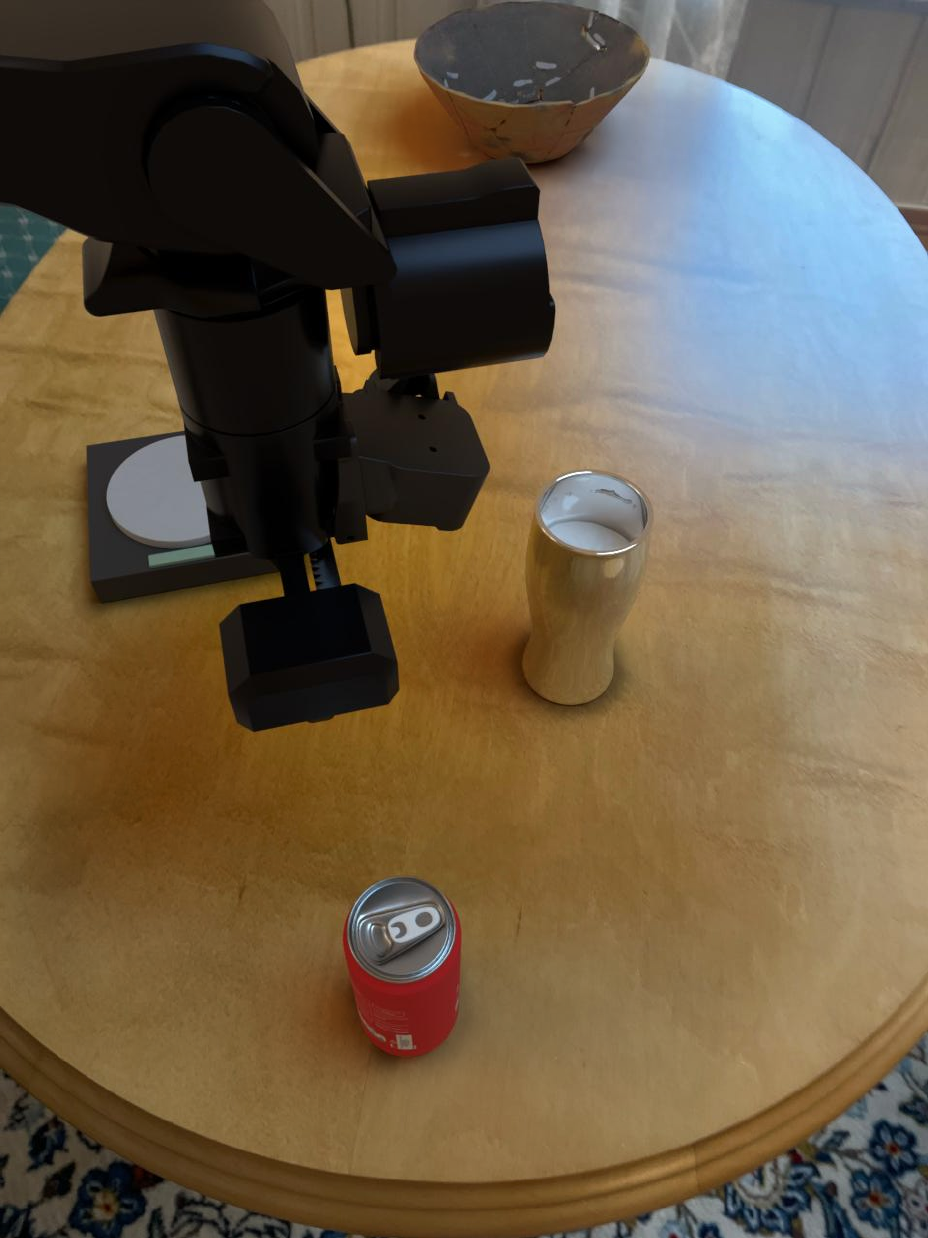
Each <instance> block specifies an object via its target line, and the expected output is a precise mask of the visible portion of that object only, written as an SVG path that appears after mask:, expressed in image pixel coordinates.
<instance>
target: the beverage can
mask: <svg viewBox="0 0 928 1238" xmlns="http://www.w3.org/2000/svg"><path fill="white" fill-rule="evenodd" d="M347 913H348V914H347V916H346V918H345V922H344V925H343V931H342V947H343V952H344V956H345V961H346V966H347V969H348V974H349V978H350V982H351V986H352V987H351V988H352V991H353V995H354V998H355V1003H356V1007H357V1012H358V1016H359V1020H360V1023H361V1026H362V1028H363V1031H364V1032H365V1034H366V1036H367V1038H368V1039H369V1040H370V1041H371V1042H372V1043H373V1044H374V1045H375V1046H376V1047H377V1048H379V1049H381V1050H382V1051H383V1052H385V1053H388V1054H390V1055H393V1056H397V1057H404V1058H411V1057H412V1058H413V1057H418V1056H422V1055H425V1054H428V1053H429V1052H432V1051H433V1050H435V1049H437V1048H438V1047H439V1046H440V1045H441V1044H443V1042H445V1041H446V1039H447V1038H448V1037H449V1035H450V1034H451V1032H452V1031H453V1029H454V1027H455V1025H456V1022H457V1019H458V1015H459V1009H460V987H461V961H462V960H461V959H462V926H461V925H462V924H461V920H460V917H459V915H458V912H457V910H456V907H455V905H454V904H453V903H452V901H451V900H450V899H449V898H448V896H447V895H446V894H445V893H444V892H443V891H442V890H441V889H439V888H438V887H437V886H436V885H435V884H433V883H431V882H429V880H425V879H423V878H422V877H418V876H417V875H394V876H390V877H385V878H383V879H381V880H379V881H376V882H375V883H372V885H370V886H369V887H367V888H366V889H365V890H364V891H363V892H362V893H360V895H359V896H358V897H357V899H356V900H355V902H354V903H353V904H352V906H351V908H350V909H349V912H347Z"/></svg>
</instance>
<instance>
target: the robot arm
mask: <svg viewBox="0 0 928 1238" xmlns="http://www.w3.org/2000/svg"><path fill="white" fill-rule="evenodd" d="M540 197H541V189H540V187H539V185H538V184H537V182H536V181H535V178H534V177H533V175H532V173H531V171H530V169H529V168H528V167H527V165H526V164H525V163H524V162H523V161H522V160H521V159H520V158H519V157H515V158H506V159H492V160H487V161H482V162H479V163H477V164H474V165H471V166H469V167H465V168H461V169H455V170H446V171H438V172H437V171H436V172H430V173H420V174H411V175H404V176H403V175H402V176H396V177H386V178H377V179H370V180H369V179H368V180H366V181H365V179H364V176H363V173H362V171H361V168H360V166H359V162H358V160H357V157H356V155H355V152H354V150H353V147H352V145H351V143H350V141H349V140H348V138H347V136H346V135H345V134H344V133H342V132H341V131H340V130H339V128H337V126H336V125H335V124H334V123H333V122H332V120H331V119H329V117H328V116H327V115H326V114H325V113H324V112H323V110H321V108H320V107H319V106H318V105H317V104H316V103H315V101H313V99H312V98H311V97H310V96H309V95H308V93H306V92H305V90H304V86H303V84H302V81H301V78H300V75H299V71H298V69H297V66H296V63H295V61H294V58H293V55H292V51H291V48H290V45H289V43H288V41H287V38H286V36H285V34H284V32H283V29H282V28H281V25H280V23H279V22H278V20H277V17H276V15H275V12H273V10H272V9H271V8H270V7H269V6H268V5H267V3H266V2H265V1H264V0H0V207H1V206H3V207H9V208H15V209H18V210H22V211H24V212H27V213H30V214H32V215H34V216H36V217H39V218H41V219H44V220H46V221H48V222H51V223H53V224H56V225H57V226H58V225H59V226H61V227H62V228H65V229H68V230H70V231H71V232H75V233H77V234H80V235H82V236H85V237H87V238H86V239H85V240H84V241H83V243H82V245H81V263H82V265H81V266H82V296H83V307H84V309H85V311H86V312H87V313H88V314H89V315H91V316H93V317H96V318H103V317H110V316H111V317H112V316H119V315H125V314H127V315H128V314H133V313H140V312H149V311H153V314H154V317H155V321H156V325H157V329H158V332H159V336H160V340H161V344H162V347H163V351H164V354H165V357H166V361H167V364H168V369H169V372H170V375H171V380H172V383H173V387H174V390H175V393H176V394H175V395H176V398H177V402H178V406H179V409H180V413H181V418H182V422H183V429H184V430H183V431H185V439H186V447H187V455H188V462H189V466H190V469H191V473H192V477H193V480H194V482H199V481H200V483H201V486H202V490H203V494H204V497H205V501H206V510H207V517H208V525H209V532H210V540H211V544H212V547H213V551H214V554H215V558H218V557H224V556H230V555H235V554H241V553H247V552H248V554H249V556H250V557H252V558H257V559H263V560H270V561H271V562H272V563H273V565H274V566H275V567H276V568H277V569H278V571H277V572H279V573H280V574H279V575H280V580H281V585H282V586H281V587H282V589H283V596H282V595H281V596H276V597H272V598H265V599H262V600H261V599H260V600H255V601H250V602H244V603H239V604H238V605H237V606H236V607H234V608H233V610H232V611H231V612H230V613H228V614H227V616H226V617H224V618H223V619H222V620H221V621H220V622H219V623H218V629H219V635H220V643H221V651H222V658H223V666H224V675H225V682H226V690H227V697H228V700H229V703H230V706H231V708H232V712H233V715H234V718H235V721H236V724H238V725H240V726H241V727H244V728H245V729H247V730H249V731H251V732H252V733H259V732H262V731H267V730H272V729H277V728H281V727H287V726H290V725H296V724H301V723H305V722H306V723H308V724H316V723H321V722H326V721H331V720H332V719H334V717H335V716H341V715H344V714H348V713H349V714H350V713H355V712H358V711H364V710H370V709H373V708H378V707H383V706H388V705H389V704H390V703H391V702H392V701H393V699H394V698H395V697H396V696H397V694H398V692H400V689H401V688H400V687H401V686H400V674H399V673H400V672H399V661H398V658H397V654H396V650H395V646H394V642H393V638H392V635H391V632H390V627H389V623H388V619H387V616H386V612H385V609H384V604H383V601H382V597H381V594H380V593H379V592H376V591H374V590H372V589H370V588H367V587H365V586H362V585H361V584H358V583H356V582H353V583H347V584H342V581H341V577H340V572H339V568H338V563H337V559H336V556H335V551H334V548H333V543H332V539H331V538H334V540H335V543H336V544H337V545H340V546H341V545H348V544H353V543H358V542H365V541H368V540H369V533H368V523H367V522H368V521H367V517H368V518H370V519H372V520H374V521H376V522H379V523H386V524H396V525H397V524H398V525H409V526H421V527H432V528H433V527H434V528H436V529H437V530H438V531H439V532H454V531H458V530H460V529H462V528H463V526H464V525H465V523H466V521H467V518H468V516H469V515H470V512H471V510H472V508H473V507H474V505H475V502H476V500H477V498H478V496H479V494H480V492H481V490H482V488H483V486H484V484H485V481H486V479H487V477H488V475H489V473H490V471H491V464H490V461H489V458H488V456H487V453H486V451H485V448H484V445H483V442H482V441H481V438H480V435H479V433H478V430H477V428H476V425H475V423H474V420H473V418H472V416H471V414H470V413H469V412H468V411H467V409H465V408H464V407H463V406H462V405H460V404H459V402H458V400H457V397H456V395H455V393H454V391H448V390H445V391H444V394H443V396H442V398H440V391H439V386H438V379H437V376H436V374H442V373H448V372H449V373H450V372H455V371H461V370H468V369H477V368H482V367H489V366H495V365H501V364H502V365H503V364H509V363H514V362H521V361H529V360H535V359H541V358H544V357H545V356H546V354H547V353H548V351H549V349H550V346H551V344H552V342H553V336H554V330H555V323H556V311H557V310H556V303H555V300H554V298H553V296H552V294H551V289H550V276H549V275H550V274H549V266H548V265H549V263H548V258H547V252H546V245H545V241H544V240H545V239H544V236H543V232H542V228H541V224H540V220H539V213H540V210H539V209H540V199H541V198H540ZM327 291H339V292H340V298H341V304H342V311H343V316H344V321H345V327H346V330H347V334H348V339H349V343H350V346H351V349H352V352H353V354H354V356H355V357H359V356H364V355H371V354H372V352H373V351H374V362H375V367H376V368H375V369H374V370H373V371H372V372H371V373H370V375H369V377H368V379H365V381H364V384H363V385H362V388H359V389H355V390H353V392H343V389H342V382H341V378H340V374H339V371H338V367H337V364H335V363H334V354H333V353H334V351H333V345H332V336H331V335H332V333H331V326H330V318H329V317H330V316H329V308H328V299H327V298H328V297H327ZM307 554H308V557H309V563H310V568H311V572H312V578H313V579H314V580H313V581H314V586H315V590H311V587H310V582H309V577H308V573H307V567H306V563H305V556H306V555H307Z"/></svg>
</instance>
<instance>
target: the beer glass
mask: <svg viewBox="0 0 928 1238" xmlns="http://www.w3.org/2000/svg"><path fill="white" fill-rule="evenodd" d="M533 507H534V510H533V514H532V518H531V523H530V527H529V531H528V537H527V544H526V550H525V562H524V563H525V564H524V565H525V566H524V578H525V591H526V597H527V605H528V610H529V615H530V621H531V622H530V623H531V632H530V637H529V639H528V642H527V644H526V646H525V648H524V651H523V654H522V658H521V659H522V660H521V668H522V674H523V676H524V679H525V681H526V682H527V684H528V686H529V687H530V688H531V689H532V691H534V692H535V693H536V694H537V695H538V696H540V697H541V698H543V699H544V700H547V701H549V702H552V703H555V704H559V705H566V706H577V705H583V704H586V703H589V702H592V701H594V700H596V699H598V698H599V697H600V696H601V695H602V694H603V693H605V691H606V690H607V689H608V687H609V686H610V684H611V683H612V679H613V676H614V670H615V669H614V666H615V665H614V652H613V651H614V644H615V641H616V639H617V637H618V635H619V633H620V631H621V630H622V628H623V626H624V624H625V622H626V621H627V620H628V617H629V615H630V614H631V612H632V611H633V610H632V609H633V608H634V606H635V603H636V601H637V599H638V596H639V594H640V591H641V589H642V586H643V582H644V578H645V576H646V571H647V566H648V561H649V557H650V556H649V555H650V547H651V540H652V532H653V531H652V530H653V526H654V523H655V512H654V511H655V510H654V507H653V504H652V502H651V500H650V498H649V497H648V495H647V494H646V492H645V491H644V490H643V488H641V487H640V486H639V485H638V484H636V483H635V482H633V481H632V480H630V479H629V478H627V477H625V476H622V475H621V474H617V473H615V472H612V471H607V470H603V469H596V468H595V469H594V468H583V469H575V470H570V471H567V472H564V473H561V474H558V475H556V476H555V477H553V478H552V479H550V480H549V481H547V482H546V483H545V484H544V485H543V486H542V487H541V489H540V490H539V492H538V493H537V495H536V498H535V501H534V506H533Z"/></svg>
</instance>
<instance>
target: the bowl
mask: <svg viewBox="0 0 928 1238" xmlns="http://www.w3.org/2000/svg"><path fill="white" fill-rule="evenodd" d="M599 11H600V10H596V9H593V8H588V7H584V6H579V5H574V4H570V3H564V2H553V1H543V0H532V1H504V2H503V1H502V2H495V3H491V4H490V3H489V4H483V5H479V6H478V5H477V6H473V7H469V8H464V9H460V10H455V11H453V12H451V13H450V14H447V15H446V16H445V17H443V18H441V19H439V20H437V21H435V22H434V23H432V24H430V25H429V26H428V27H426V28H425V29H424V30H423V31H421V33H419V35H418V37H417V39H416V41H415V43H414V49H413V60H414V62H415V65H416V66H417V69H418V71H419V74H420V76H421V77H422V79H423V80H424V82H425V83H426V85H427V86H428V88H429V90H431V92H432V93H433V95H434V96H435V97H436V99H437V100H438V102H439V103H440V104H441V107H443V109H444V110H445V111H446V113H447V114H448V116H449V117H450V119H451V120H452V121H453V122H454V123H455V125H456V126H458V128H459V129H460V130H461V131H462V132H463V133H464V134H465V135H466V137H468V139H470V140H471V142H472V144H474V145H475V146H476V147H477V148H478V149H479V150H480V151H482V152H483V153H484V154H486V155H487V156H488V157H491V158H493V159H494V160H498V159H506V158H515V157H519V158H520V159H521V160H522V161H523V162H524V163H525V165H526V164H541V163H545V162H549V161H553V160H557V159H559V158H562V157H563V156H565V155H566V154H568V153H569V152H571V151H573V149H575V148H576V147H577V146H579V145H580V144H581V143H582V142H584V141H585V140H586V139H587V138H588V137H589V135H590V134H592V132H593V131H594V130H595V128H596V127H597V126H599V125H600V124H601V123H602V122H603V120H604V119H605V118H606V117H607V116H608V115H609V114H610V113H611V112H612V111H613V109H614V108H616V107H617V105H618V104H619V103H620V102H621V101H622V100H623V99H624V98H625V97H626V96H627V95H628V93H629V92H630V91H631V90H632V89H633V87H634V86H635V85H636V84H637V83H638V82H639V81H640V80H641V78H642V77H643V75H644V74H645V72H646V69H647V68H648V65H649V63H650V57H651V53H650V47H649V46H648V45H647V43H646V41H645V40H644V39H643V37H642V36H641V35H640V34H639V33H638V31H636V30H635V29H633V28H632V27H630V25H628V24H627V23H624V22H621V21H620V20H618V19H616V18H614V17H612V16H610V15H608V14H606V13H604V12H599ZM587 34H588V35H589V37H590V38H591V39H592V40H593V41H594V42H595V43H596V44H597V45H598V46H599V49H598V47H597V46H595V45H594V44H593V43H592V42H591V41H590V40H589V39H588V38H587Z"/></svg>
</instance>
